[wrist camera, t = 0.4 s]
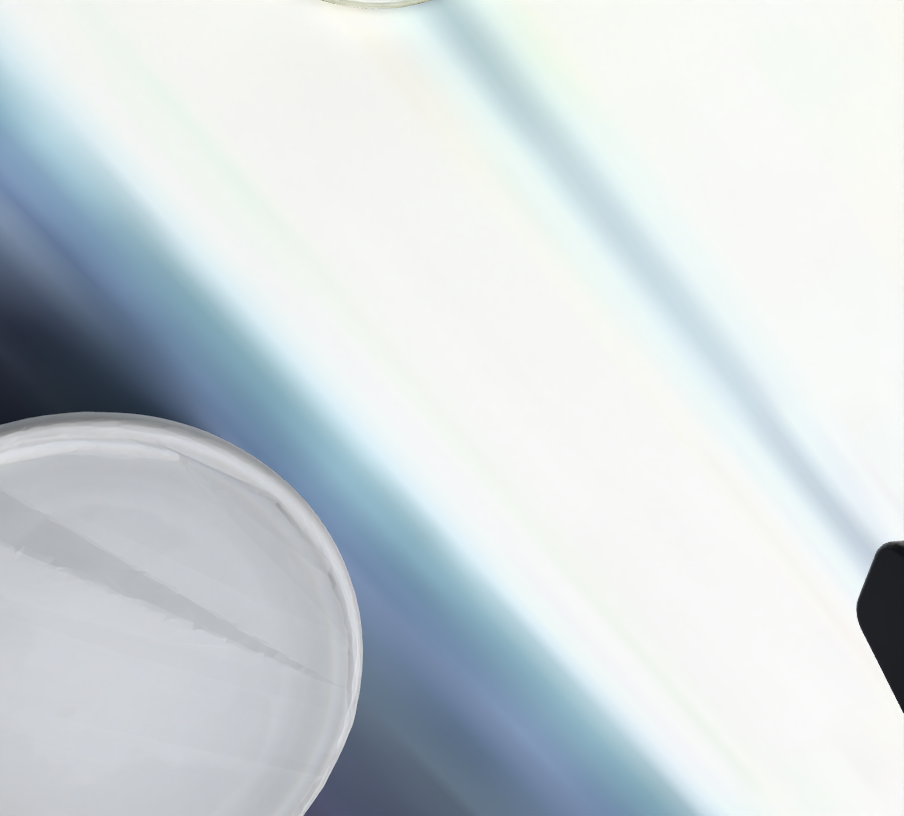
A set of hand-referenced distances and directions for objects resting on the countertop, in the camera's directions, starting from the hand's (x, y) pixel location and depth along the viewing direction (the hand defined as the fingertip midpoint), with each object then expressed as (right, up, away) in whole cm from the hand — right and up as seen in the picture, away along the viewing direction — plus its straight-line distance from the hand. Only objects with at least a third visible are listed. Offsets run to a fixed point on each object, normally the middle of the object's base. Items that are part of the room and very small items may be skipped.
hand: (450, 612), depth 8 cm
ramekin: (-9, -3, +14) cm, 17 cm away
